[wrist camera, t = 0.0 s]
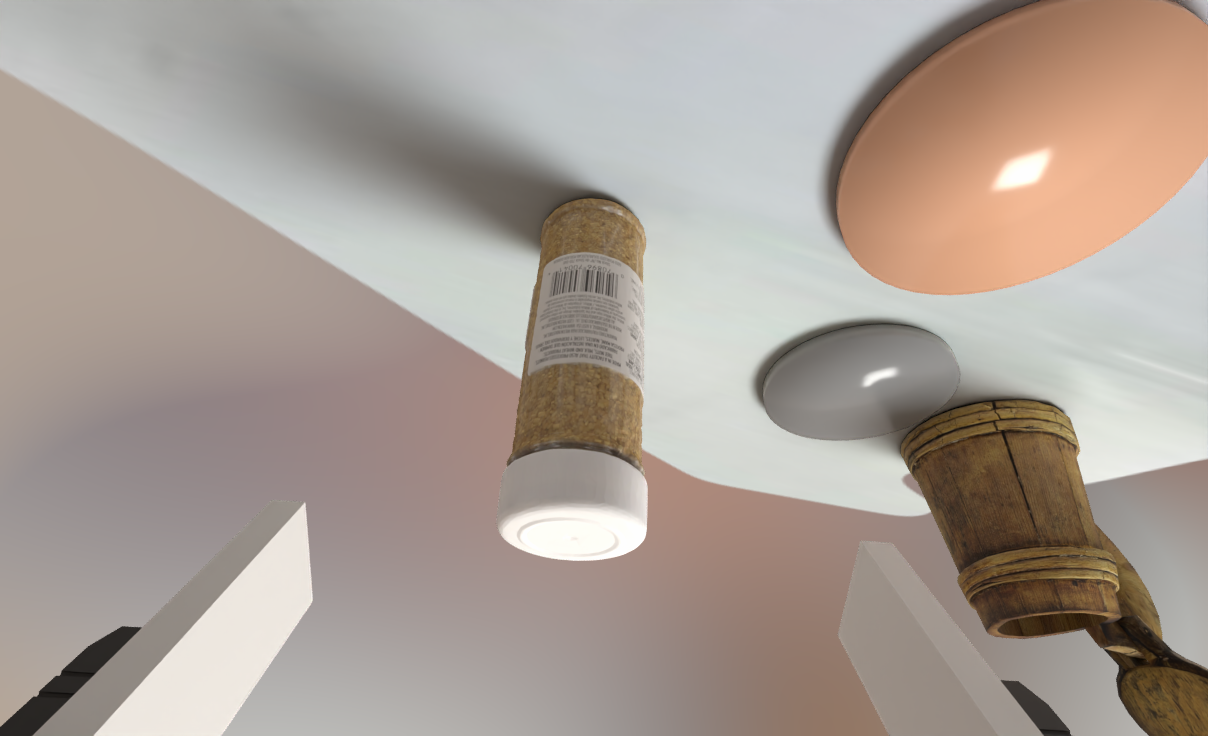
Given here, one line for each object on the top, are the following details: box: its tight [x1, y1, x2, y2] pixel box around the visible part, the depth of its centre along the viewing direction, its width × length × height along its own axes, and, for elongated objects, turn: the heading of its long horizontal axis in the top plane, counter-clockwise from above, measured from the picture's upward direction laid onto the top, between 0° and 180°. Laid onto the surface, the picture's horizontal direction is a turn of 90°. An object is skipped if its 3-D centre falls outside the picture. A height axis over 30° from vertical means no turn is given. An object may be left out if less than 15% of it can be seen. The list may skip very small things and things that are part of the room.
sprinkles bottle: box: [497, 198, 647, 561], centre depth 22 cm, size 5×5×14 cm
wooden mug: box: [901, 400, 1208, 736], centre depth 33 cm, size 9×14×18 cm, turn 78°
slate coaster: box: [763, 324, 960, 441], centre depth 33 cm, size 10×10×1 cm
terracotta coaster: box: [836, 0, 1208, 295], centre depth 22 cm, size 12×12×1 cm
